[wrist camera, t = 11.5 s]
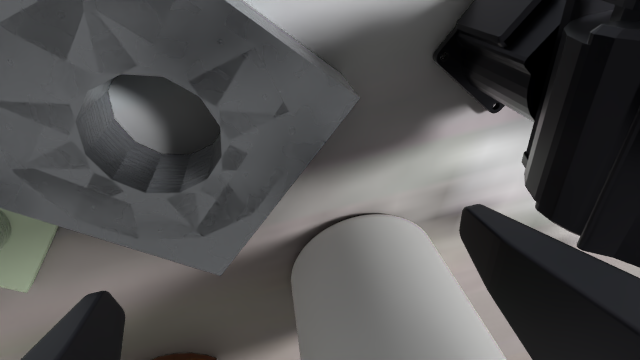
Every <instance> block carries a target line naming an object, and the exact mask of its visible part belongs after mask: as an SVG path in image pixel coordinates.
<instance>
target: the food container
mask: <svg viewBox="0 0 640 360" xmlns="http://www.w3.org/2000/svg"><path fill="white" fill-rule="evenodd" d="M152 360H217V358H215V357H212V356H209V355H203V354H196V353H175V354H170V355H165V356H160V357H157V358H154V359H152Z"/></svg>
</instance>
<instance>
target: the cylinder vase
mask: <svg viewBox="0 0 640 360" xmlns="http://www.w3.org/2000/svg"><path fill="white" fill-rule="evenodd" d="M291 287H292V295H293V303H294V311H295V319H296V327H297V334H298V342H299V350H300V358H301V360H507V359H506V358H505V356H504V354H503V353H502V351H501V350H500V348H499V347H498V345H497V343H496V342H495V340H494V339H493V337H492V336H491V334H490V332H489V331H488V329H487V328H486V326H485V325H484V323H483V322H482V320H481V318H480V317H479V315H478V314H477V312H476V311H475V309H474V307H473V306H472V304H471V303H470V301H469V300H468V298H467V296H466V295H465V293H464V292H463V290H462V289H461V287H460V285H459V284H458V282H457V281H456V279H455V278H454V276H453V274H452V273H451V271H450V270H449V268H448V267H447V265H446V263H445V262H444V260H443V259H442V257H441V256H440V254H439V252H438V251H437V249H436V248H435V246H434V245H433V243H432V241H431V240H430V238H429V237H428V235H427V234H426V233H425V232H424V231H423V230H422V229H421V228H420V227H419V226H418V225H416V224H415V223H413V222H411V221H409V220H407V219H404V218H401V217H398V216H393V215H386V214H371V215H363V216H358V217H353V218H350V219H347V220H344V221H341V222H339V223H336V224H334V225H332V226H330V227H329V228H327V229H325V230H324V231H322V232H321V233H319V234H318V235H316V236H315V237H314V238H313V239H312V240H311V241H310V242H309V243H308V244H307V245H306V246H305V247H304V248H303V249H302V251H301V252H300V254H299V255H298V257H297V259H296V261H295V263H294V266H293V269H292V274H291Z"/></svg>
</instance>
